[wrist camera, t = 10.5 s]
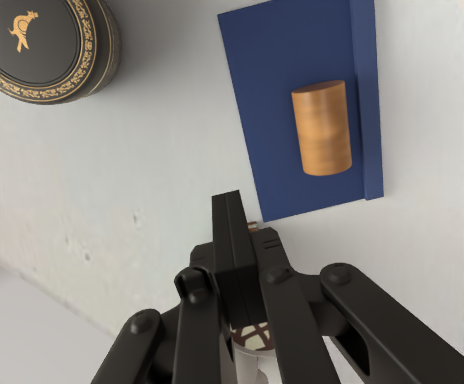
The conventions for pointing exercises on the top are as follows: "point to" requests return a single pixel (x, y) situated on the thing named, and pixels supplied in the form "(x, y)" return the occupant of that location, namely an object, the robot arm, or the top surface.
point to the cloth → (296, 76)
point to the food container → (254, 333)
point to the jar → (57, 49)
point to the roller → (323, 127)
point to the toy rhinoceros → (248, 369)
